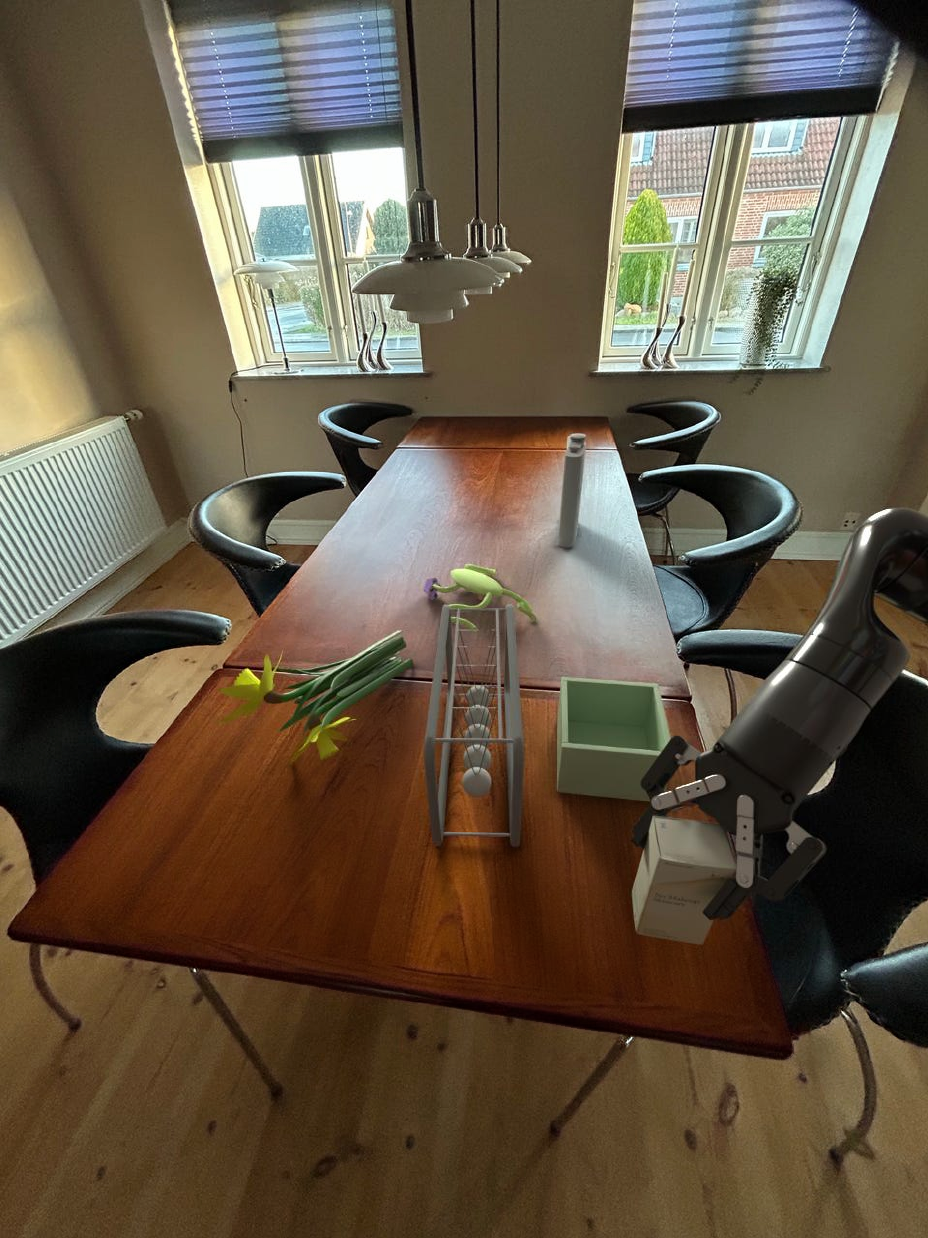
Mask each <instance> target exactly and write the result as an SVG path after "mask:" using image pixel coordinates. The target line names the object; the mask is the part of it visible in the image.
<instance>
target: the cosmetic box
mask: <svg viewBox="0 0 928 1238" xmlns="http://www.w3.org/2000/svg"><path fill="white" fill-rule="evenodd" d="M729 835H730V834H729V833H728V832H727V831H726V830H724V829H723V828H722V827H721V826H720V824H719V823H718V822H717V823H716V822H709V821H701V820H696V819H695V820H694V819H689V818H688V819H686V818H676V817H669V816H668V817H660V816H653V818H652V822H651V825H650V829H649V833H648V836H647V840H646V843H645V847H644V848H643V851H642V855H641V858H640V862H639V865H638V869H637V871H636V876H635V878H634V882H633V886H632V890H631V898H632V899H631V900H632V910H633V920H634V927H635V933H636V934H637V935H639V936H640V935H641V936H646V937H652V938H657V939H661V940H662V939H664V940H669V941H674V942H679V943H680V942H681V943H687V944H694V945H699V946H700V945H702V946H703V945H704V943H705V940H706V939H707V936H708V935H709V931H710V929H711V927H712V925H713V922H714V921H715V920H709V919H708V918H707V917H706V916H705V915H704V914H703V910H704V909H705V908H706V907H707V905H708V904H709V903H710V902H711V900H712V899H713V898H714V897H715V895H716V894H717V893H718V892H719V890H720V889H721V888H722V887H723V885H724V884H725V883H726V882H727V880H728V879H729V878H734V877H735V875H736V866H737V861H736V859H735V855H734V851H733V847H732V846H733V845H732V843H731V839H730V836H729Z"/></svg>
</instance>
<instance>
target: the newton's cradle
mask: <svg viewBox="0 0 928 1238" xmlns="http://www.w3.org/2000/svg"><path fill="white" fill-rule="evenodd" d="M449 605H450V604H444V605H443V606H442V607H441V613H440V614H441V615H440V621H439V628H438V637H437V643H436V653H435V660H434V667H433V675H432V684H431V689H430V691H431V692H430V699H429V706H428V712H427V713H428V714H427V722H426V728H425V735H424V747H423V757H424V758H423V765H424V773H425V783H426V793H427V800H428V801H427V802H428V810H429V821H430V831H431V840H432V843H433V844H434V846H436V847H439V846H441V845H442V844H443V841H444V837H445V836H447V837H500V838H502V837H503V838H504V837H506V838H507V837H508V838H509V843H510V846H511V847H513V848H518V847H519V846H520V844H521V831H522V830H521V829H522V813H523V811H522V809H523V794H524V793H523V790H524V789H523V788H524V772H525V771H524V770H525V745H524V743H525V742H524V730H523V728H524V727H523V717H522V701H521V690H520V673H519V663H518V648H517V636H516V622H515V608H514V605H513V604H511V603H508V604H506V606H505V608H484V609H450V606H449ZM469 611H476V612H495V629H493V634H492V638H491V642H490V646H489V651H488V656H487V660H486V663H485V664H471V663H470V661H469V657H468V654H467V650H466V646H465V643H464V639H463V636H462V632H463V631H466V632H467V631H469V629H460V628H459V627H460V624H459V618H461V616H460V615H461V612H462V613H463V612H469ZM452 612H455V613H456V617H457V620H456V624H455V633H454V643H453V630H452V623H451V617H452ZM500 612H504V613H505V614H504V615H505V617H504V620H505V621H504V668H503V669H504V673H503V674H504V675H503V676H504V678H503V679H504V680H503V684H504V685H503V686H504V687H503V689H504V690H503V691H504V693H502V679H501V653H500V652H501V648H500V647H501V645H500V644H501V643H500V617H499V615H500V614H499V613H500ZM461 631H462V632H461ZM495 634H496V635H495ZM459 636H460V639H461V643H462V648H463V650H464V653H465V657H466V660H467V664H464V660H463V657H462V654H461V649H460V646H458V642H459V641H458V640H459ZM495 637H496V646H494V647H493V642H494V638H495ZM453 644H454V645H453ZM492 648H493V652H492V657H491V659H490V664H488V662H489V658H490V654H491V650H492ZM457 653H459V657H460V660H461V661H460V662H461V664H457ZM495 653H496V664H493V660H494V656H495ZM445 661H446V677H447V694H446V705H445V714H444V715H445V716H444V728H443V737H440V738H439V737H437V729H438V720H439V711H440V701H441V695H442V694H441V693H442V683H443V676H444V667H445V666H444V665H445ZM459 666H460V667H462V668H463V671H464V674H465V678H466V682H467V684H464V683H463V680H462V676H461V673H460V669H459ZM465 666H468V667H469V671H470V675H471V678H472V681H473V684H470V682H469V678H468V675H467V671H466V667H465ZM473 666H474V667H478V666H479V667H484V671H483V675H482V680H481V683H480V684H476V682H475V678H474V675H473V671H472V668H471V667H473ZM488 666H489V669H488V673H487V677H486V681H485V684H483V683H484V679H485V675H486V670H487V667H488ZM492 667H493V672H492V676H491V680H490V684H488V680H489V677H490V672H491V669H492ZM456 670H457V673H458V676H459V681H460V683H461V684H455V680H456V679H455V678H456ZM495 673H496V674H497V676H496V677H497V679H496V683H497V684H493V680H494V676H495ZM457 687H462V690H463V693H459V691H458V688H457ZM465 687H468V688H469V689H468V690H467V693H466V691H465ZM487 687H489V688H487ZM492 687H494V690H493V692H492V693H490V691H491V689H492ZM496 690H497V693H496ZM455 692H456V693H455ZM455 697H457V698H458V701H459V704H460V705H459V706H460V707H459V706H456V707H455V706H454V703H455ZM460 697H461V698H462V697H463V698H465V700H466V705H467V706H466V707H464V706H463V704H462V701H461V698H460ZM494 697H497V707H495V708H494V709H495V710H494V713H493V717H492V715H491V711H492V705H493V702H494ZM502 697H503V698H504V719H505V720H504V721H505V722H504V723H505V738H503V709H502ZM488 706H489V707H488ZM456 709H461V712H462V714H463V718H464V721H465V724H466V728H467V729H466V730H465V732H464V734H463V732H462V728H461V725H460V722H459V719H458V715H457V713H456V712H457V711H456ZM464 709H467V711H466V713H465V711H464ZM496 713H497V714H496ZM453 715H454V716H455V719H456V722H457V725H458V729H459V732H460V735H461V738H457V737H456V738H452V728H453V727H452V726H453ZM496 715H498V716H497V719H498V720H497V721H498V722H497V723H498V724H497V725H498V738H492V735H491V732H492V729H493V725H494V722H495V718H496ZM491 720H492V721H491ZM489 725H490V728H488V727H489ZM436 743H442V747H441V748H442V749H441V758H440V769H439V770H440V771H439V779H438V780H439V781H437V770H436ZM451 743H463V744H464V747H465V751H464V754H463V757H462V759H463V765H464V766H465V768H466V769H467V770H466V771H465V773H464V774H463V776H462V779H461V784H462V785H461V786H462V788H463V790H464V792H465V793H466V794H467V795H468V796H469V797H472V798H475V799H476V798H482V797H484V796H485V795H487V794H488V793H489V791H490V790H491V787H492V778H491V775H490V773H489V772H488V771H487V770H489V767H490V766H491V763H492V755H491V752H490V751H489V749H488V747H489V746H490V744H491V743H492V744H493V743H495V744H496V743H497V744H498V743H499V744H500V743H501V744H502V743H503V744H504V743H505V744H506V745H505V747H506V770H507V772H506V773H507V795H508V796H507V797H508V799H507V800H508V824H509V832H460V831H459V832H458V831H457V832H452V831H444V830H445V818H446V808H447V807H446V806H447V792H448V781H449V769H450V767H449V766H450V754H451ZM437 782H438V783H437Z"/></svg>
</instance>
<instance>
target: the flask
mask: <svg viewBox="0 0 928 1238" xmlns="http://www.w3.org/2000/svg"><path fill="white" fill-rule="evenodd" d="M586 438H587V435H586V434H585V433H571V434H570V435H568V436H567V439H566V440H567V441H566V451H565V453H564V458H563V470H562V482H561V495H560V506H559V508H560V509H559V519H558V531H557V544H556V545H557V546H558V547H560V548H571V547H573V546H574V544H575V542H576V540H577V535H578V527H579V520H580V519H579V518H580V508H581V498H582V488H583V480H584V470H585V468H584V467H585V460H586V450H587V442H586Z"/></svg>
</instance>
